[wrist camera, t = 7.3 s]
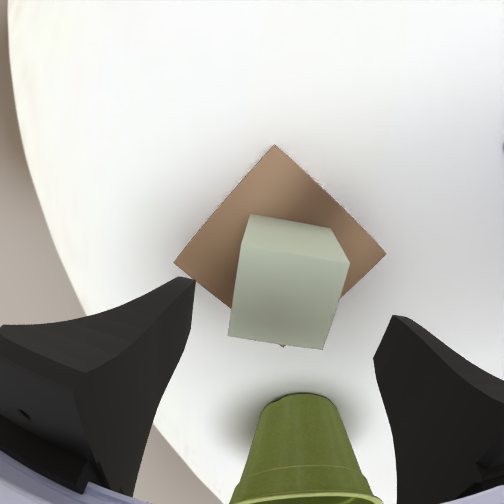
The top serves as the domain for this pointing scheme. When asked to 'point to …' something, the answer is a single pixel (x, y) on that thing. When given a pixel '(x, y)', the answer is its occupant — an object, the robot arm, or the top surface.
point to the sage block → (287, 283)
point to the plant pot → (302, 457)
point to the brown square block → (276, 206)
